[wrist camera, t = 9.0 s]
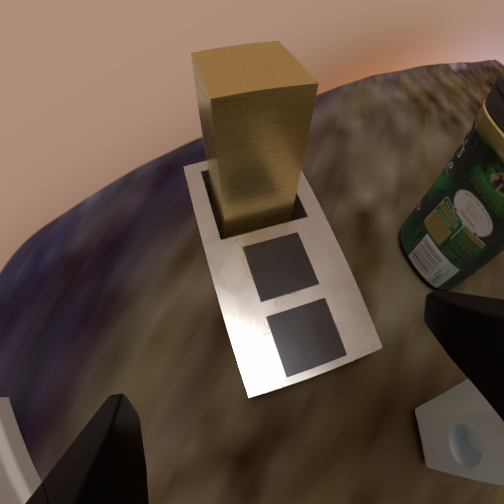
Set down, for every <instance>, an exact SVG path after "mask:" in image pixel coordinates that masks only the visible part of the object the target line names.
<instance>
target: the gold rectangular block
mask: <svg viewBox="0 0 504 504" xmlns="http://www.w3.org/2000/svg"><path fill="white" fill-rule="evenodd" d="M191 56H192V64H193V71H194V79H195V86H196V93H197V100H198V108H199V115H200V121H201V128H202V135H203V142H204V148H205V155H206V161H207V168H208V174H209V180H210V186H211V192H212V198H213V202H214V205H215V208H216V212H217V215H218V218H219V221H220V224H221V228H222V231H223V234H224V237H225V239H227V238H230V237H234V236H238V235H241V234H245V233H249V232H253V231H256V230H260V229H264V228H268V227H271V226H275V225H279V224H283V223H287V222H290V220H291V215H292V211H293V206H294V201H295V197H296V192H297V188H298V183H299V178H300V173H301V169H302V164H303V159H304V154H305V149H306V144H307V139H308V134H309V129H310V124H311V119H312V114H313V109H314V104H315V98H316V93H317V88H318V83H317V81H316V80H315V79H314V78H313V77H312V76H311V75H310V74H309V72H308V71H307V70H306V69H305V68H304V67H303V66H302V65H301V64H300V63H299V62H298V61H297V60H296V59H295V57H294V56H292V54H291V53H290V52H289V51H288V50H287V49H286V48H285V47H284V46H283V45H282V44H281V43H280V42H279V41H275V42H263V43H252V44H244V45H236V46H230V47H223V48H216V49H211V50H205V51H200V52H194V53H192V54H191Z"/></svg>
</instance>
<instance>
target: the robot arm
mask: <svg viewBox="0 0 504 504" xmlns="http://www.w3.org/2000/svg"><path fill="white" fill-rule="evenodd" d="M424 321H425V323H426V325H427V326H428V328H429V329H430V330H431V332H432V333H433V334H434V336H435V337H436V339H437V340H438V341H439V343H440V344H441V345H442V347H443V348H444V350H445V351H446V352H447V354H448V355H449V356H450V358H451V359H452V360H453V361H454V362H455V364H456V365H457V366H458V367H459V368H460V369H461V370H462V372H463V373H464V374H465V375H466V376H467V377H468V379H469V380H470V381H471V382H472V383H473V385H474V386H475V387H476V388H477V389H478V391H479V392H480V393H481V394H482V395H483V397H484V398H485V399H486V400H487V401H488V403H489V404H490V405H491V406H492V408H493V409H494V410H495V411H496V413H497V414H498V415H499V417H500V418H501V419H502V420H503V422H504V300H502V299H495V298H489V297H482V296H475V295H469V294H462V293H455V292H449V291H442V290H435V291H433V292H431V293H429V294H427V295H426V298H425V307H424ZM25 504H149V502H148V488H147V471H146V462H145V455H144V448H143V441H142V434H141V426H140V419H139V416H138V414H137V412H136V411H135V409H134V408H133V406H132V404H131V403H130V401H129V400H128V398H127V397H126V396H125V395H124V394H117V395H111V396H109V397H108V399H107V400H106V401H105V402H104V404H103V405H102V406H101V407H100V409H99V410H98V411H97V412H96V414H95V415H94V416H93V417H92V419H91V420H90V421H89V422H88V424H87V425H86V426H85V427H84V429H83V430H82V431H81V432H80V434H79V435H78V436H77V438H76V439H75V440H74V441H73V443H72V444H71V445H70V446H69V448H68V449H67V450H66V452H65V453H64V454H63V455H62V457H61V458H60V459H59V461H58V462H57V463H56V464H55V466H54V467H53V468H52V470H51V471H50V472H49V474H48V475H47V476H46V477H45V479H44V480H43V482H42V483H41V484H40V485H39V487H38V488H37V489H36V490H35V492H34V493H33V494H32V495H31V497H30V498H29V499H28V500H27V502H26V503H25Z"/></svg>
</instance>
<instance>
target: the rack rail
mask: <svg viewBox="0 0 504 504" xmlns="http://www.w3.org/2000/svg"><path fill="white" fill-rule="evenodd" d="M184 171H185V175H186V179H187V183H188V187H189V191H190V195H191V199H192V203H193V207H194V211H195V215H196V219H197V223H198V227H199V231H200V235H201V238H202V242H203V246H204V250H205V253H206V257H207V261H208V264H209V268H210V272H211V275H212V279H213V282H214V286H215V289H216V293H217V296H218V300H219V303H220V307H221V310H222V314H223V317H224V320H225V324H226V327H227V330H228V334H229V337H230V340H231V344H232V347H233V350H234V353H235V356H236V360H237V363H238V366H239V369H240V372H241V375H242V379H243V382H244V385H245V388H246V391H247V394H248V397H249V398H251V397H254V396H257V395H261V394H264V393H267V392H270V391H273V390H277V389H280V388H283V387H286V386H289V385H291V384H294V383H297V382H300V381H303V380H306V379H308V378H311V377H314V376H316V375H319V374H322V373H324V372H327V371H329V370H332V369H334V368H337V367H339V366H342V365H344V364H347V363H349V362H352V361H354V360H356V359H359V358H361V357H363V356H365V355H368V354H370V353H372V352H374V351H377V350H379V349H381V348H382V345H381V342H380V340H379V337H378V335H377V332H376V330H375V327H374V325H373V322H372V320H371V317H370V315H369V312H368V310H367V307H366V305H365V303H364V300H363V298H362V295H361V293H360V291H359V288H358V286H357V284H356V282H355V279H354V277H353V275H352V272H351V270H350V268H349V266H348V264H347V261H346V259H345V257H344V255H343V253H342V250H341V248H340V246H339V244H338V242H337V240H336V238H335V235H334V233H333V231H332V229H331V227H330V225H329V223H328V221H327V219H326V217H325V215H324V213H323V211H322V209H321V207H320V205H319V203H318V201H317V199H316V197H315V195H314V193H313V191H312V189H311V187H310V185H309V183H308V181H307V179H306V178H305V176H304V174H303V172H302V170H301V173H300V178H299V183H298V188H297V192H296V197H295V201H294V206H293V211H292V215H293V217H294V219H295V220H294V221H290V222H287V223H283V224H279V225H275V226H271V227H268V228H264V229H260V230H256V231H253V232H249V233H245V234H241V235H238V236H234V237H230V238H227V239H223V240H221V239H220V236H219V232H218V229H217V226H216V222H215V219H214V215H213V212H212V209H211V205H210V202H209V198H208V195H207V193H209V192H211V186H210V180H209V174H208V168H207V161H204V162H200V163H196V164H192V165H188V166H185V167H184Z"/></svg>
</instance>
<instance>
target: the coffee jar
mask: <svg viewBox="0 0 504 504" xmlns="http://www.w3.org/2000/svg"><path fill="white" fill-rule="evenodd" d="M400 239H401V244H402V247H403V249H404V251H405V253H406V255H407V257H408V259H409V261H410V262H411V264H412V266H413V267H414V269H415V270H416V271H417V272H418V274H419V275H420V276H421V277H422V278H423V279H424V280H425V281H426V282H427V283H429V284H430V285H431V286H433V287H435V288H437V289H441V290H447V289H450V288H453V287H454V286H456V285H457V284H459V283H460V282H462V281H463V280H465V279H466V278H468V277H469V276H470V275H472V274H473V273H475V272H476V271H477V270H478V269H480V268H481V267H483V266H484V265H485V264H486V263H488V262H489V261H490V260H491V259H493V258H494V257H495V256H497V255H498V254H499V253H501V252H502V251H503V250H504V72H503V73H501V74H500V75H499V76H498V78H497V80H496V83H495V84H494V86H493V88H492V89H491V91H490V93H489V94H488V96H487V98H486V99H485V101H484V102H483V104H482V106H481V108H480V110H479V113H478V115H477V117H476V119H475V120H474V122H473V124H472V126H471V128H470V130H469V131H468V133H467V135H466V136H465V138H464V140H463V141H462V143H461V144H460V146H459V148H458V149H457V151H456V152H455V154H454V155H453V157H452V158H451V160H450V161H449V163H448V164H447V166H446V167H445V169H444V170H443V171H442V173H441V174H440V176H439V177H438V179H437V180H436V181H435V183H434V184H433V186H432V187H431V188H430V190H429V191H428V192H427V194H426V195H425V196H424V197H423V199H422V200H421V201H420V203H419V204H418V205H417V207H416V208H415V209H414V210H413V212H412V213H411V214H410V216H409V217H408V218H407V219H406V221H405V222H404V223H403V225H402V228H401V232H400Z"/></svg>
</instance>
